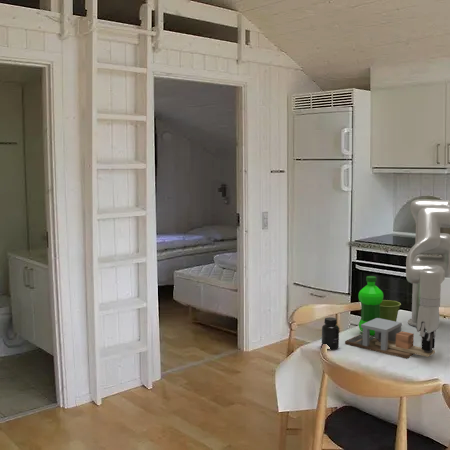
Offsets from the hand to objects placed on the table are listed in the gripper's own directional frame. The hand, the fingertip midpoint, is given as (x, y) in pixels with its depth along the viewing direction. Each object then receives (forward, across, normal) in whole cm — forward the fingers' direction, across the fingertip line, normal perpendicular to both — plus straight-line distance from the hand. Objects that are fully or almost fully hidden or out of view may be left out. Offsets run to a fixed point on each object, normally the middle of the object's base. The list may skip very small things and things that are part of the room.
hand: (428, 348), depth 227 cm
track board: (+4, 0, -19) cm, 19 cm away
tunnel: (+3, 0, -20) cm, 20 cm away
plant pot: (+4, -26, -30) cm, 40 cm away
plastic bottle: (+4, -13, -32) cm, 34 cm away
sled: (+2, 0, -9) cm, 10 cm away
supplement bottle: (+4, +14, -34) cm, 37 cm away
